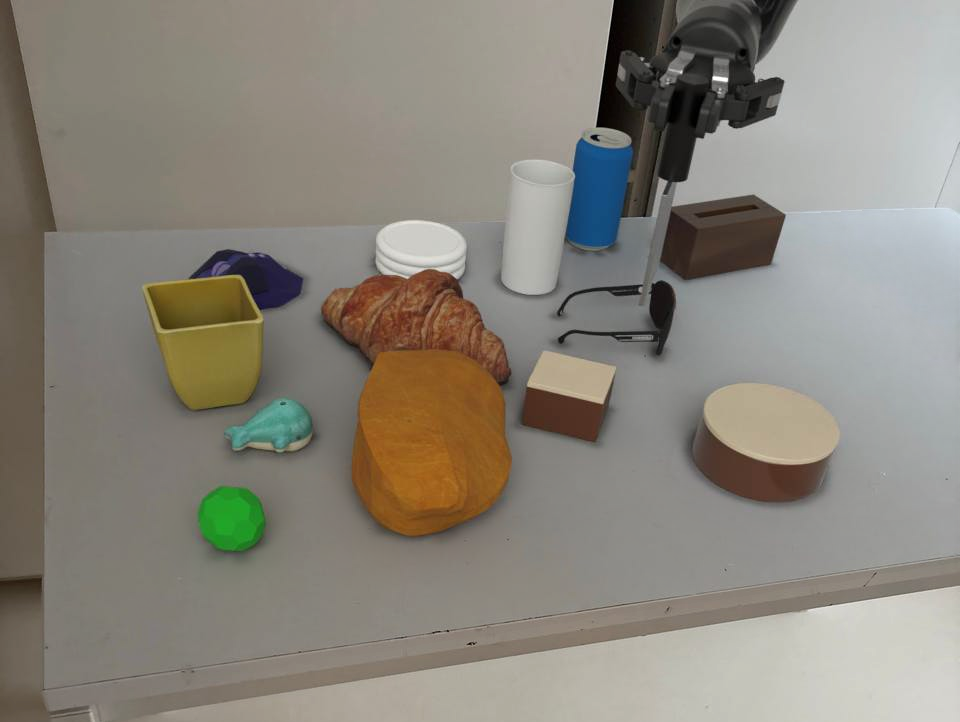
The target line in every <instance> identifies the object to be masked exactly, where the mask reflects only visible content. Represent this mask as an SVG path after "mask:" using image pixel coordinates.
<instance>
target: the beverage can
mask: <svg viewBox="0 0 960 722" xmlns="http://www.w3.org/2000/svg"><path fill="white" fill-rule="evenodd" d="M574 151H575V152H574V158H573V165H572V171H573V172H574V174H575V179H574V186H573V193H572V199H571V205H570V211H569V216H568V222H567V228H566V234H565V239H566V240H568V242H569V243H570V244H571V245H572V246H573V247H575V248H577V249H581V250H582V251H583V250H584V251H588V252H589V251H590V252H591V251H592V252H598V251H603V250H606V249H608V248H609V247H610V246H612V245H614V244H615V243H616V242H617V239H618V235H619V229H620V225H621V219H622V213H623V209H624V203H625V199H626V198H625V197H626V193H627V187H628V181H629V177H630V171H631V165H632V162H633V161H632V160H633V155H634V151H633V147H632V138H631V136H629V135H628V134H627V133H625V132H623V131H620V130H617V129H614V128H608V127H590V128H586V129H584V130H583V131H582V132H581V137H580V138H579V139H578V141H577V142H576V144H575V150H574Z"/></svg>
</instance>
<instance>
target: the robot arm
mask: <svg viewBox="0 0 960 722" xmlns="http://www.w3.org/2000/svg"><path fill="white" fill-rule="evenodd" d="M798 2H799V0H676V5H675V6H676V7H675V14H676V21H677V25H676V26H675V28H674V29H673V32H672V33H671V35H670V37H668V40H667V42H666V43H665V45H664V46H663V49H662V50H661V53H657V54H655V55H654V56H652V57H651V59H650V61H649V62H645V60H646V59H645V57H643V56H639V55H637V53H636V52H633V51H631V50H623V51H621V52H620V55H619V64H618V67H617V68H618V69H617V76H616V81H615V87H616V89H617V90H618V91H619V92H620V94H621V95H622V96H623V97H624V98H625V100H626V101H627V102H628V103H629V105H630V106H631V107H632V108H633V109H635V110H637V111H638V112H639V111H640V112H641V111H646V110H648V109H649V112H648V117H647V121H648V122H649V123H652V124H654V126H653V127H654V128H653V129H654V130H655V131H660V132H664V131H665V130H666V128H667V123H668V119H669V115H670V110H671V105H672V100H673V95H674V89H675V84H676V79H677V76H678V75H680V74H686V73H688V74H697V75H700V76H703V77H705V78H707V79H708V80H709V85H708V90H707V94H706V96H705V98H704V101H703V103H702V106H701V109H700V113H699V118H698V122H697V127H696V131H695V136H694V137H696V138H697V139H701V140H704V139H705V137H706V134H711V135H712V134H714V133H716V131H717V130H718V127H720V126H721V122H722V121H728V123H727V125H728V126H729V127H731V129H743V128H745V127H749V126H751V125H753V124H757V123H759V122H761V121H765V120H766V119H769V118H772V117H774V116H776V114H777V111H778V108H779V104H780V101H781V99H782V98H781V97H782V94H783V89H784V85H785V80H784V79H782V78H781V77H779V76H774V77H770V78H769V77H768V78H766V79H764V78H758V79H757V81H756V75H755V72H754V71H755V69H756V66H757V64H759V63H761V62H762V61H763V60H764V59H765V58H766V57H767V56H768V54H769V53H770V51H772V49H773V47H774V46H775V44H776V42H777V41H778V39H779V37H780V35H781V33H782V32H783V29H784V28H785V26H786V24H787V21H789V18H790V16H791V14H792V13H793V11H794V9H795V6H796V5H797V3H798Z"/></svg>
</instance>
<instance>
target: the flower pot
mask: <svg viewBox="0 0 960 722" xmlns="http://www.w3.org/2000/svg"><path fill="white" fill-rule="evenodd" d="M188 279H189V278H188ZM188 279H178V280H167V281H158V282H149V283H143V284H142V285H141V290H142V295H143V297H144V301H145V305H146V309H147V312H148V315H149V319H150V324H151V327H152V331H153V334H154V337H155V340H156V343H157V346H158V348H159V352H160V354H161V356H162V359H163V363H164V365H165V369H166V372H167V376H168V378H169V381H170V383H171V385H172V388H173V389H174V391H175V393H176V394H177V396H178V397H179V399H180V400H181V401H182V403H184V405H185V406H186V407H187V408H188V409H189V410H191V411H196V410H203V409H212V408H219V407H225V406H232V405H240V404H244V403H247V401H248V400H249V399H250V397H251V396H252V395H253V393H254V391H255V390H256V387H257V385H258V383H259V380H260V378H261V372H262V367H263V351H264V349H263V348H264V327H265V325H264V324H265V323H264V322H265V318H264V316H263V313H262V312H261V311H260V310H261V309H258V307H257V305H256V303H255V302H254V300H253V298H252V296H251V293H250V291H249V289H248V287H247V285H246V282H245V280H244V278H243V277H242V276H241V275H227V276H218V277H208V278H198V279H189V280H188Z"/></svg>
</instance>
